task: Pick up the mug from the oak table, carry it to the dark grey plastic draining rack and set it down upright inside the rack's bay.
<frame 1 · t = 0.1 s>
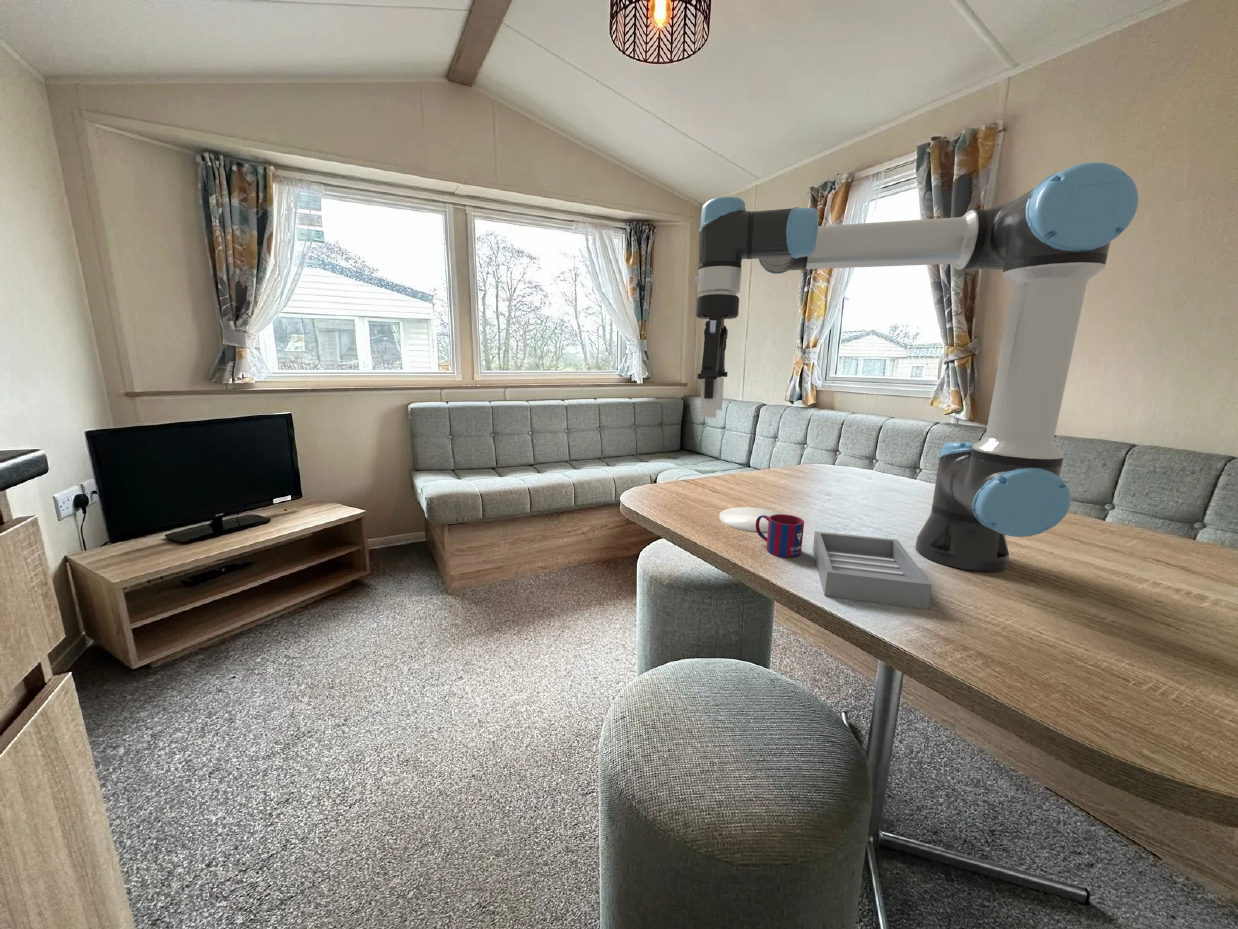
hand: (711, 413, 91), 28 cm above the table, fingers open, 13 cm apart
mug: (776, 549, 99), on the table
rack: (862, 576, 87), on the table
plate: (752, 521, 117), on the table
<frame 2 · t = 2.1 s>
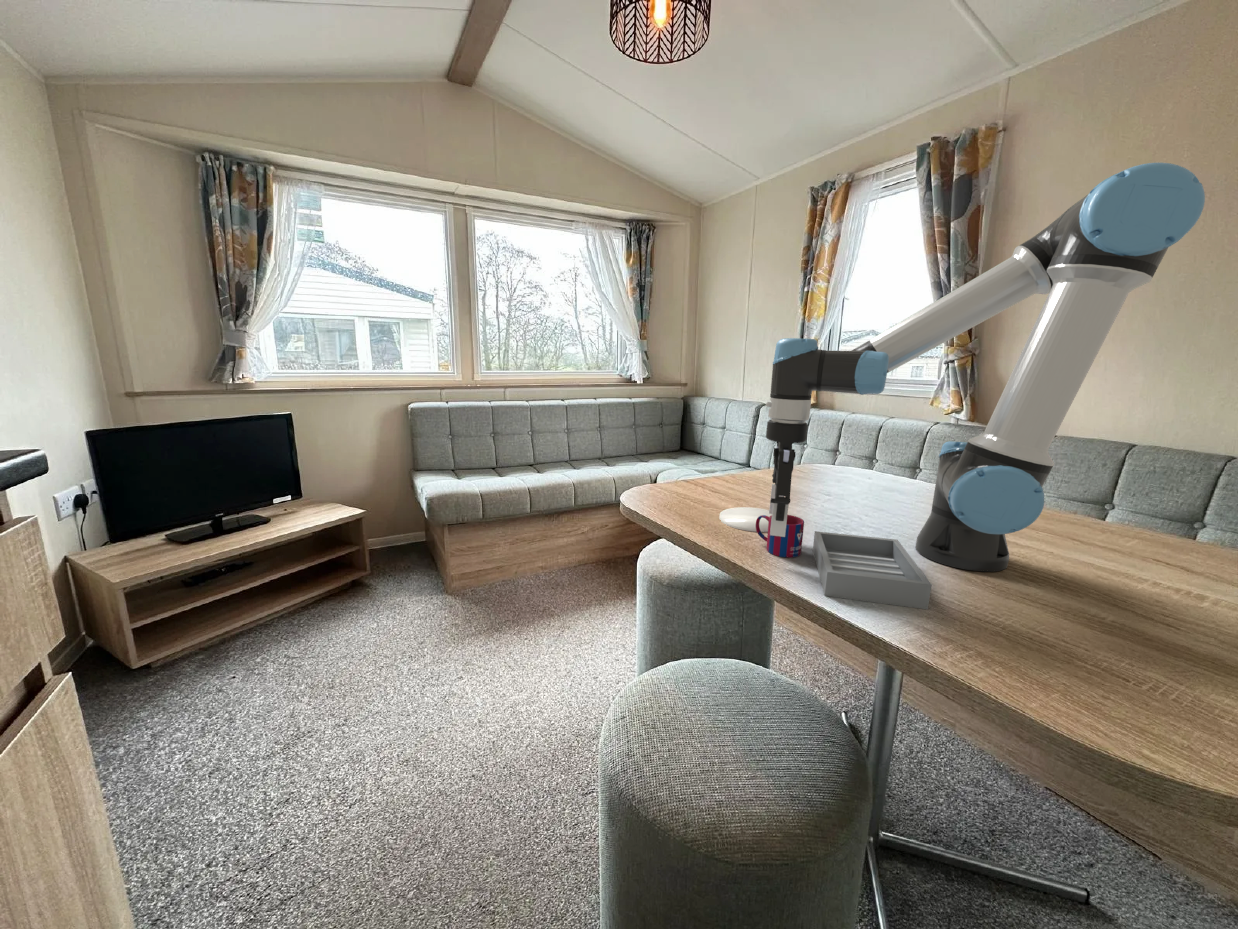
hand: (776, 524, 98), 5 cm above the table, fingers open, 13 cm apart
nothing on the table moved.
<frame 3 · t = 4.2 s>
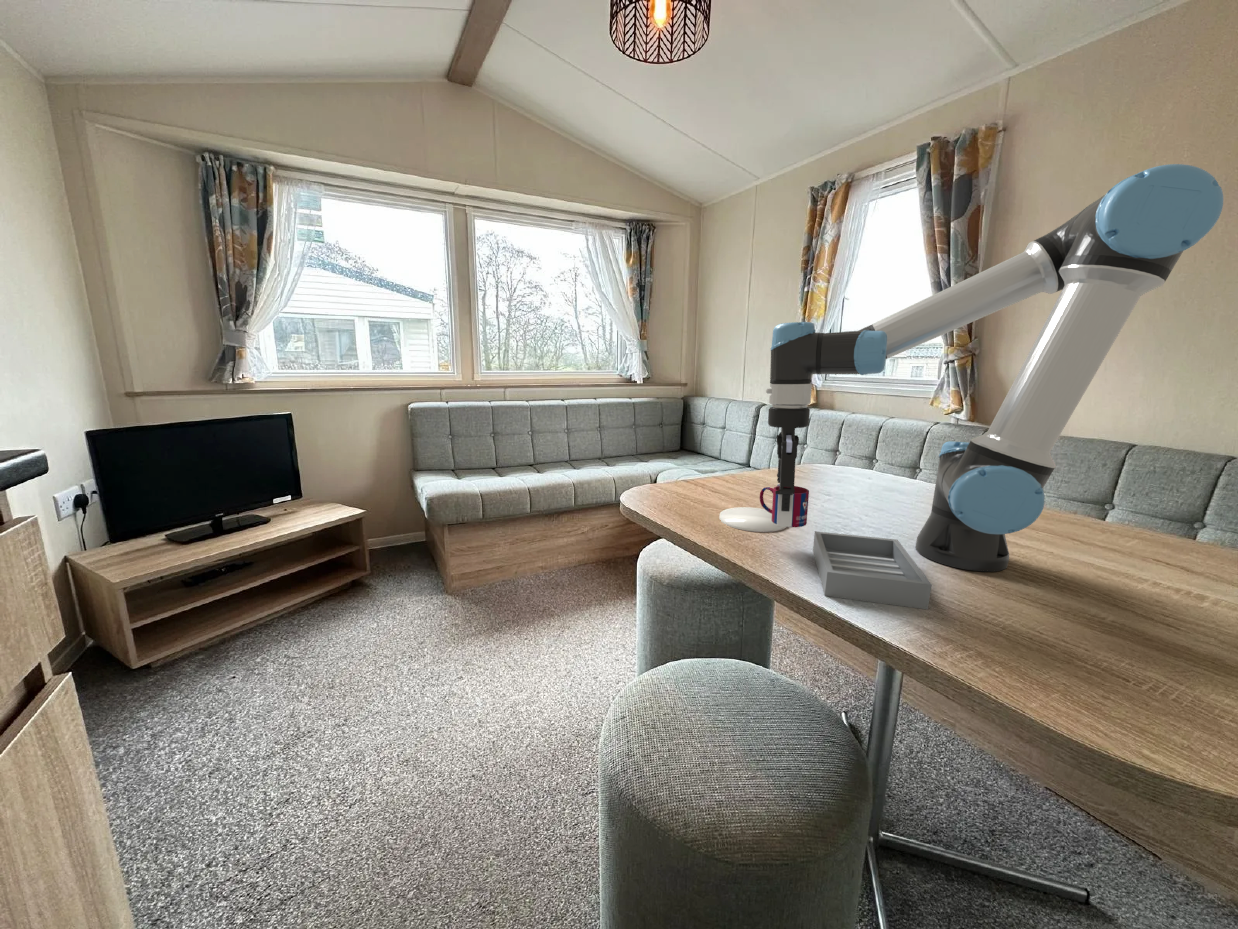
hand: (783, 519, 98), 6 cm above the table, fingers closed on mug, 7 cm apart
mug: (781, 521, 99), point 6 cm above the table, touching gripper
everything else where it was.
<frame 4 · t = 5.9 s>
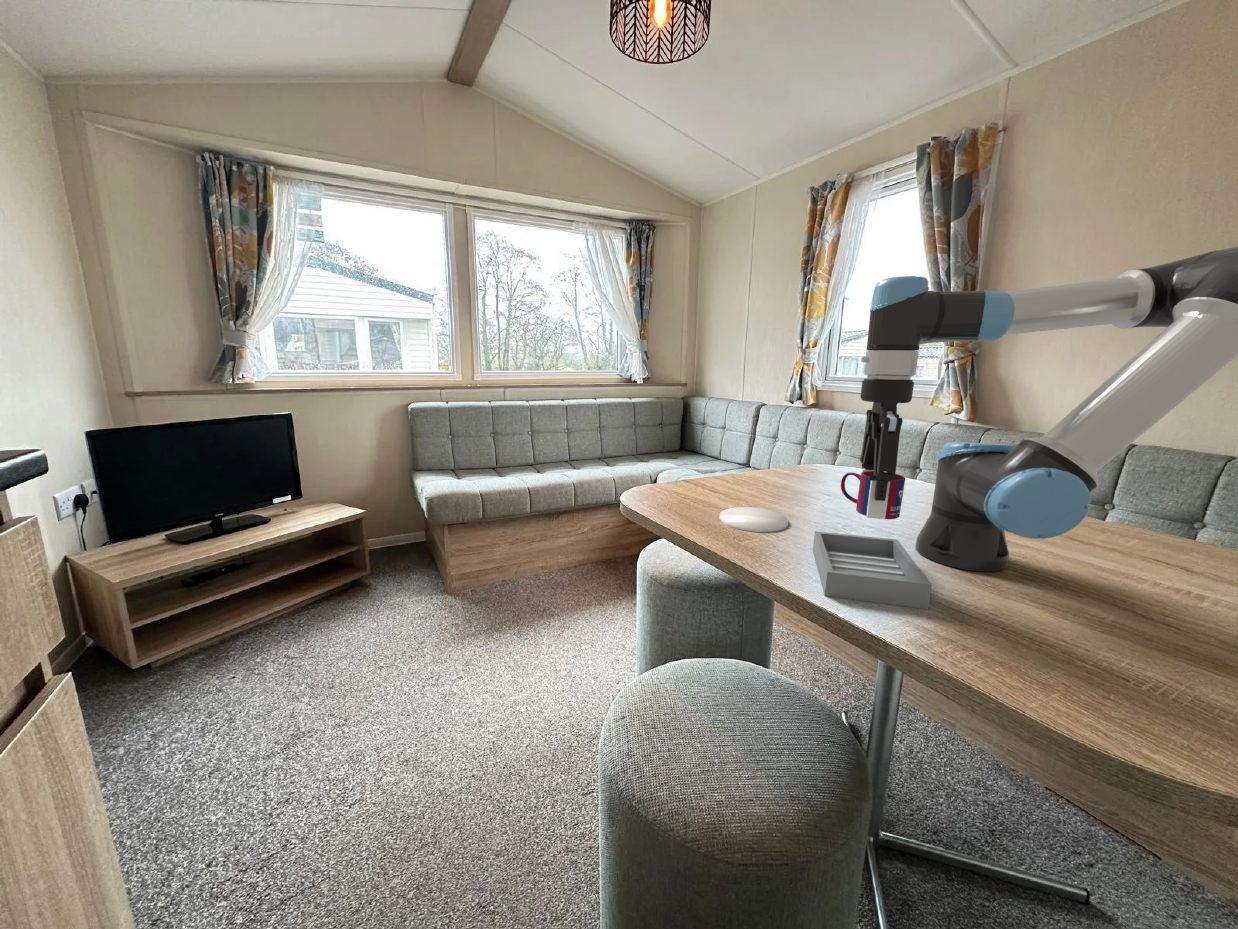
hand: (870, 510, 84), 12 cm above the table, fingers closed on mug, 7 cm apart
mug: (867, 511, 85), point 12 cm above the table, touching gripper
everything else where it was.
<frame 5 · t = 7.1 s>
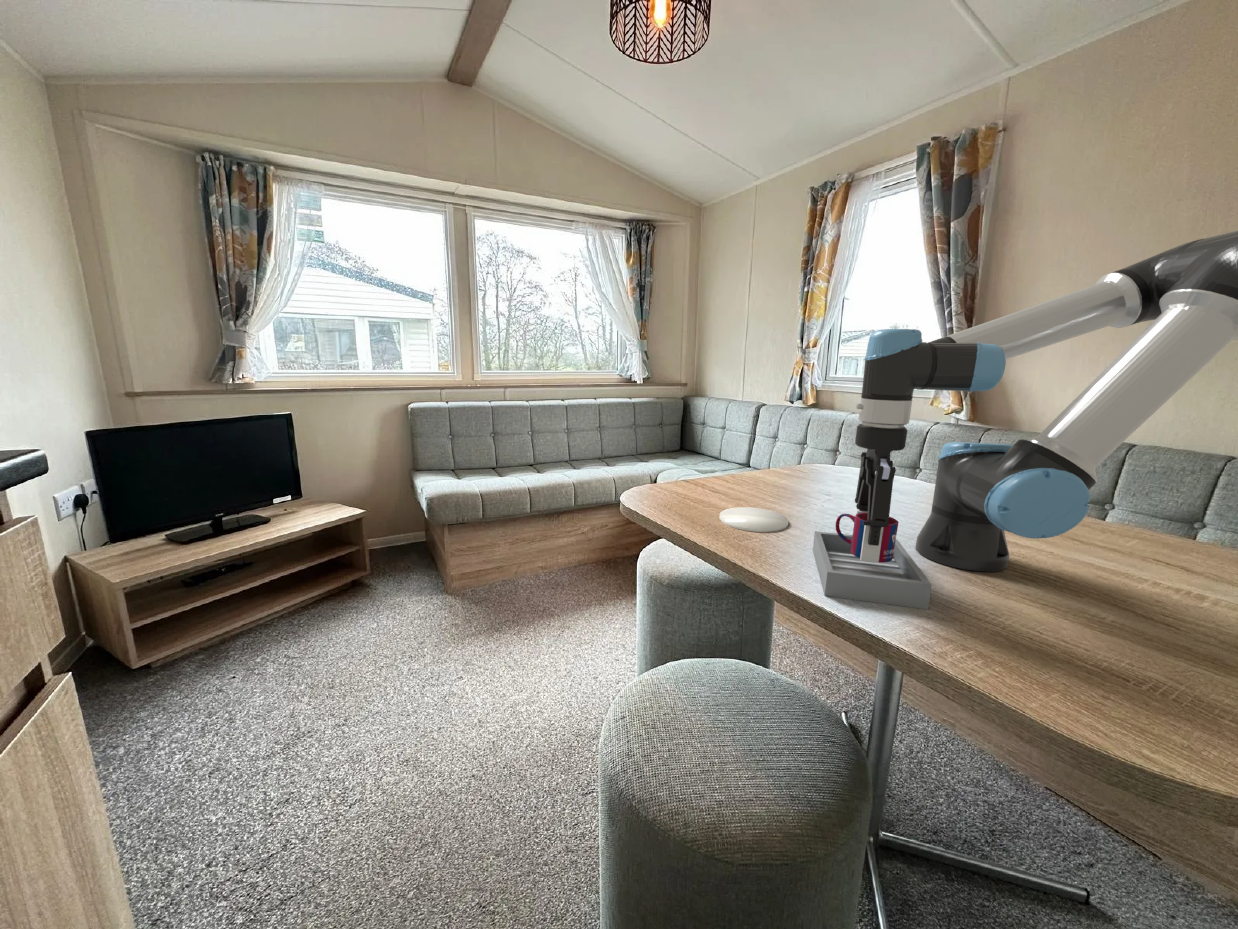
hand: (864, 552, 86), 5 cm above the table, fingers closed on mug, 7 cm apart
mug: (861, 553, 87), point 4 cm above the table, touching gripper
everything else where it was.
when the fingers open (2 cm above the table, at t = 8.0 s): mug stays where it is, resting on rack.
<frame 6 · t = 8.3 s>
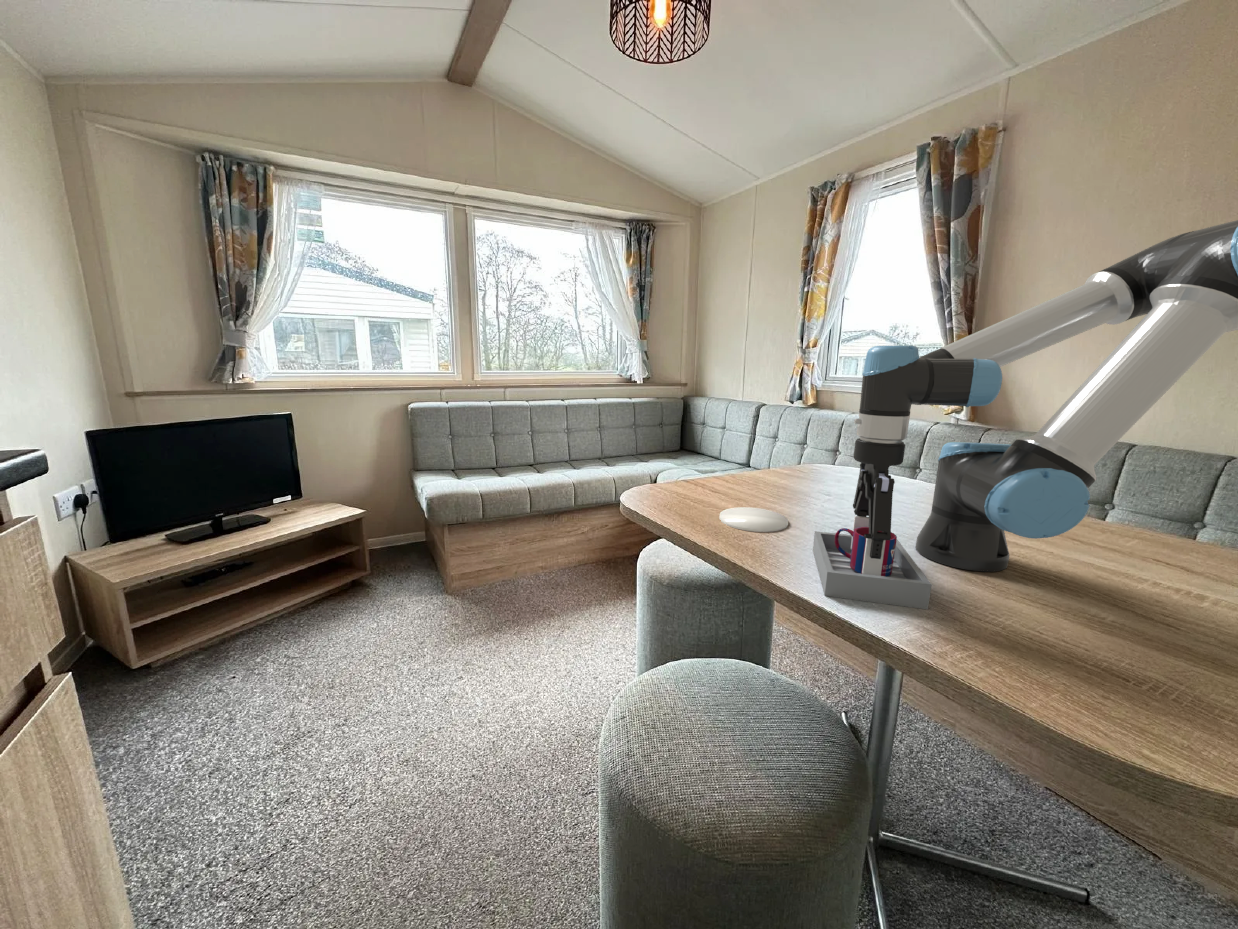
hand: (864, 561, 86), 3 cm above the table, fingers open, 10 cm apart
mug: (861, 567, 88), point 1 cm above the table, touching rack
everything else where it was.
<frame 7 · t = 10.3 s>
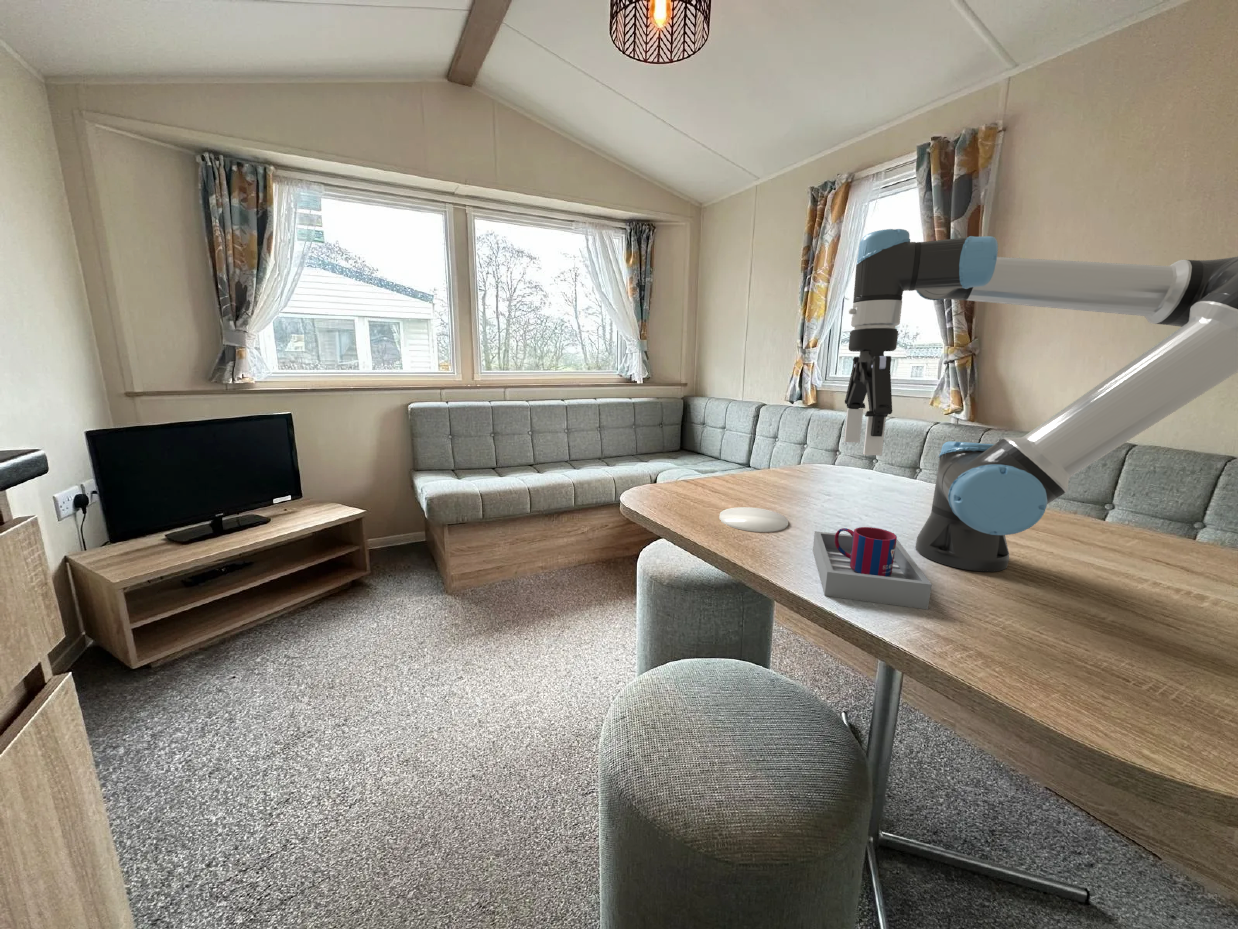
hand: (861, 448, 89), 22 cm above the table, fingers open, 13 cm apart
nothing on the table moved.
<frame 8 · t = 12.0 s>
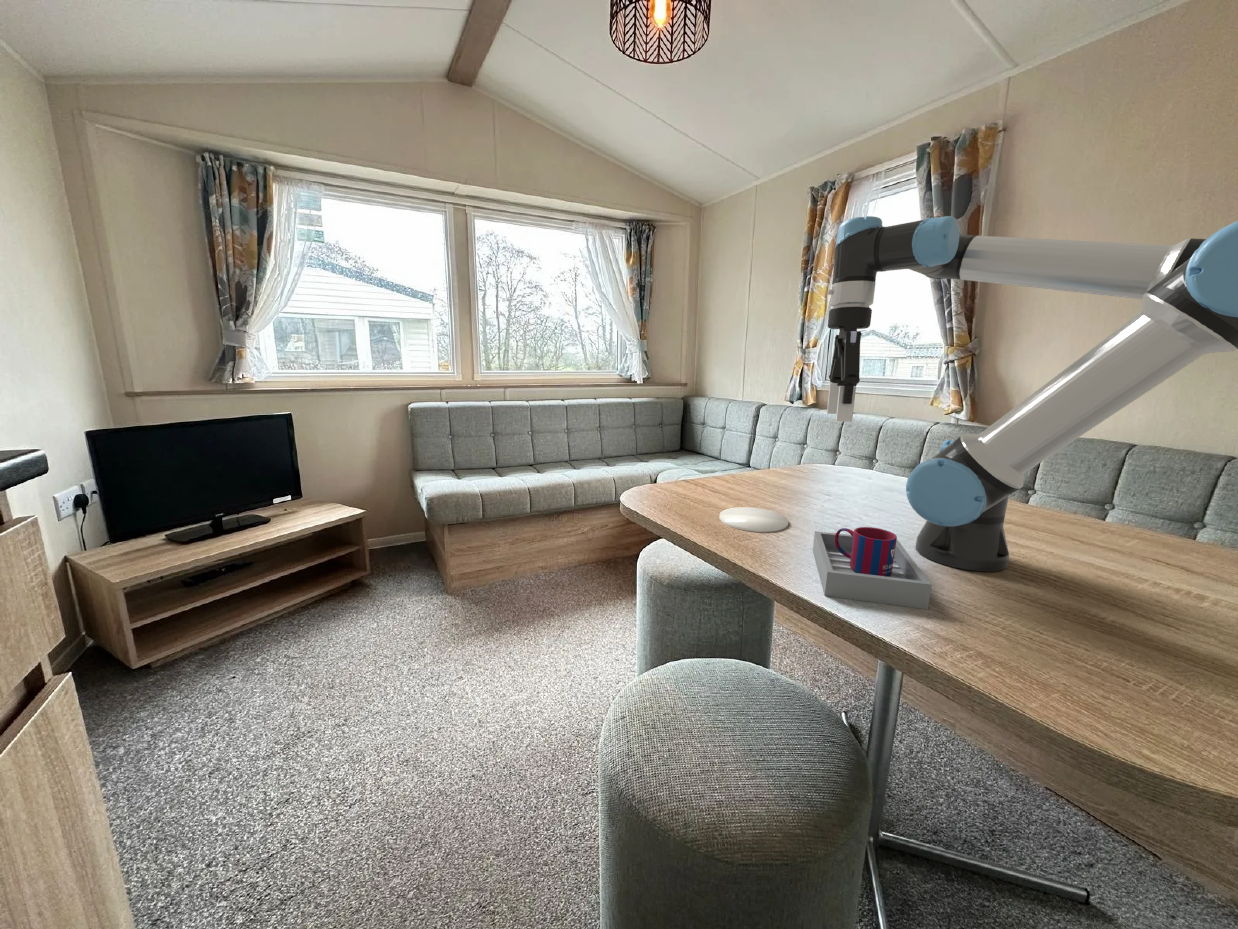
hand: (838, 417, 97), 27 cm above the table, fingers open, 13 cm apart
nothing on the table moved.
at the end: mug inside the target area on the rack (0.9 cm from its centre), point 1.3 cm above the rack's base; mug tilted 0°; the gripper is holding nothing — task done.
